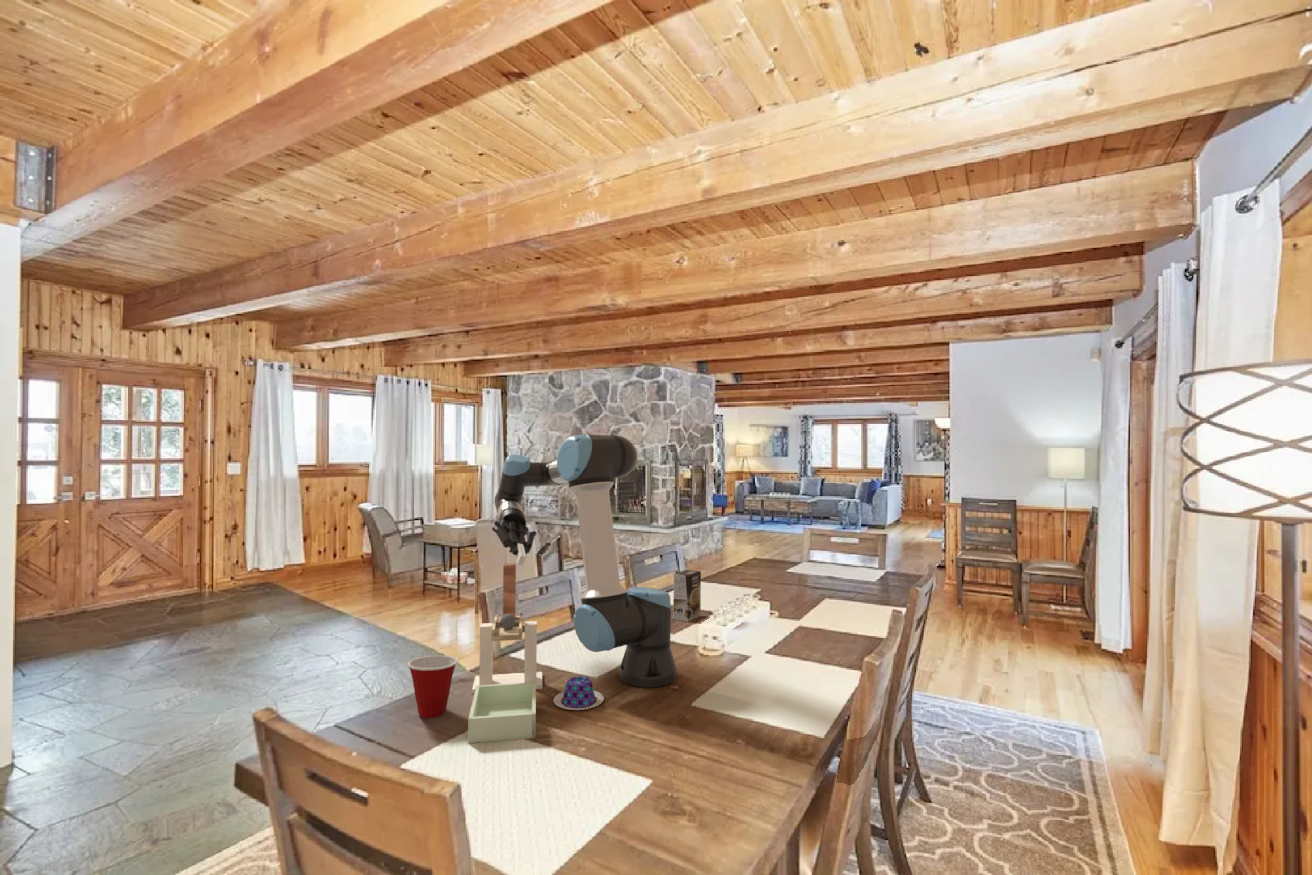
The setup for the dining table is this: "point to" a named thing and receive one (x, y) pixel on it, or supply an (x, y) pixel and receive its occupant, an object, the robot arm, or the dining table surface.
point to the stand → (528, 675)
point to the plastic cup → (432, 683)
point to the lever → (508, 607)
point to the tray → (503, 712)
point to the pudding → (578, 694)
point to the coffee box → (687, 595)
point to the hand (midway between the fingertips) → (521, 560)
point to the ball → (507, 621)
